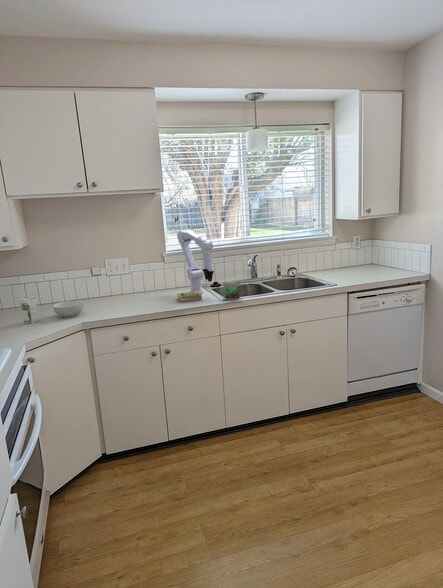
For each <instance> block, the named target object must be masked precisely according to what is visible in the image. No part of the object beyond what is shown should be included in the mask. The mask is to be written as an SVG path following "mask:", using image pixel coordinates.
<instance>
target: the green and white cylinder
mask: <svg viewBox="0 0 443 588" xmlns="http://www.w3.org/2000/svg"><path fill="white" fill-rule="evenodd" d="M19 300H20V307H21V313H22V320H23V323H24V324H34V323H37V322H39V316H38V315H39V314H38V309H37V302H36V300H37V299H36V296H32V295H31V296H30V295H29V296H28V295H27V296H23V297H20V298H19Z"/></svg>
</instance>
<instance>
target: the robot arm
mask: <svg viewBox="0 0 443 588" xmlns="http://www.w3.org/2000/svg"><path fill="white" fill-rule="evenodd" d="M176 236H177V237H176V238H177V241H178V243H179V245H180V248H181V249H182V253H183V255H184V258H185V261H186V263H187V266H188V268H187V270H186V275H187V279H188V280H189V281H190V282H189V283H190V290H189V292H192V291H196V292H197V291H198V292H199V293H200V294H203V293H204V291H202V290H203V289H202V280H203V277H204V279H205V280H206V281H208V282H209V283H210V282H212V281H213V277H214V274H215V270H213V261H212V259H213V257H212V250H213V248H214V244H213V242H212V241H211V240H207V239H205V238H203V237H202V236H197V235H196V234H195V233H194V231H193V230H192V229H189V230H179V231H178V232H177V235H176ZM192 241H194V244H195V245H196V246H198V247H199V248H200V250H201V254H202V266H198V265H197V264H196V261H195V258H194V255H193V253H192V250H191V247H190V244H191V242H192Z"/></svg>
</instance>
